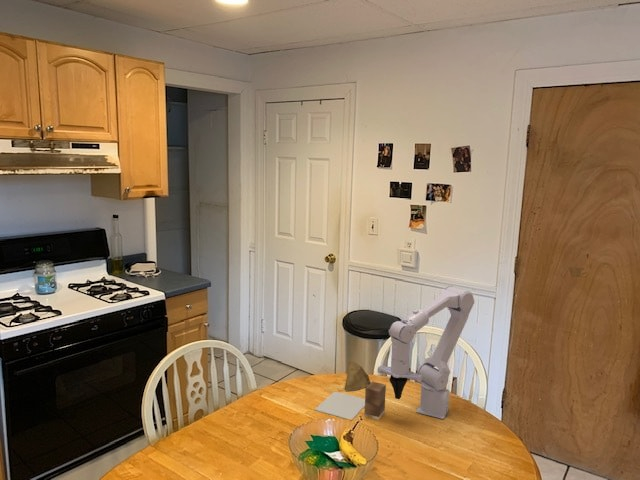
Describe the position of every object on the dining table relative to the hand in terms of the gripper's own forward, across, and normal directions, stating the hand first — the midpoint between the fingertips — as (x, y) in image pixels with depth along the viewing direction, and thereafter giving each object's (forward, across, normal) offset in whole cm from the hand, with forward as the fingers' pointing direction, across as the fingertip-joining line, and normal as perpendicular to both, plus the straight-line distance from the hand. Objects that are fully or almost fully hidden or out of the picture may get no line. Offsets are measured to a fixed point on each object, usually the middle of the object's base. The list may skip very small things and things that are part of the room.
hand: (398, 397), depth 159 cm
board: (+8, -20, 0) cm, 22 cm away
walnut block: (+8, -8, 0) cm, 11 cm away
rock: (+8, -21, +16) cm, 28 cm away
